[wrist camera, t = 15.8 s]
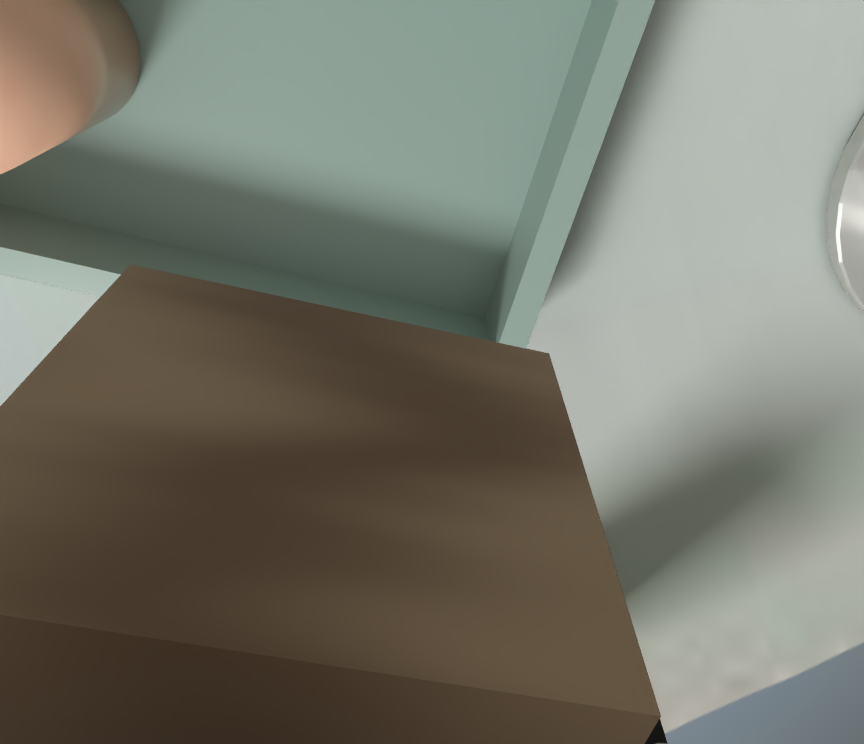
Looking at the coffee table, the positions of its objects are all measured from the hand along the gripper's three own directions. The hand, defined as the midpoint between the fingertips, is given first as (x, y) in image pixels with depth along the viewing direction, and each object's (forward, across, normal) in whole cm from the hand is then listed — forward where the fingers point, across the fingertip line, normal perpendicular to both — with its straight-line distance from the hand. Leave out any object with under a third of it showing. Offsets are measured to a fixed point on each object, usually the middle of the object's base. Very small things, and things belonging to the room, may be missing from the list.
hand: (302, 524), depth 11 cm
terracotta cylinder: (+18, +11, -2) cm, 21 cm away
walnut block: (+1, 0, 0) cm, 1 cm away
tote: (+19, +4, -2) cm, 20 cm away
